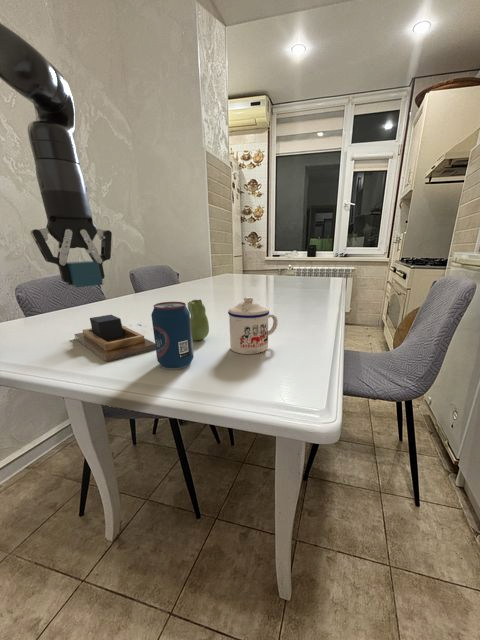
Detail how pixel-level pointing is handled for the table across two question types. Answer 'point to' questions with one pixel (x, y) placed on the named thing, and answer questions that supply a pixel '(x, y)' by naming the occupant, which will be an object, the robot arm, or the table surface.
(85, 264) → the teal block
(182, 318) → the soda can
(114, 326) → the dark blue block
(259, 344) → the teacup with lid
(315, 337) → the table surface
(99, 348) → the frame
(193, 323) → the pear
